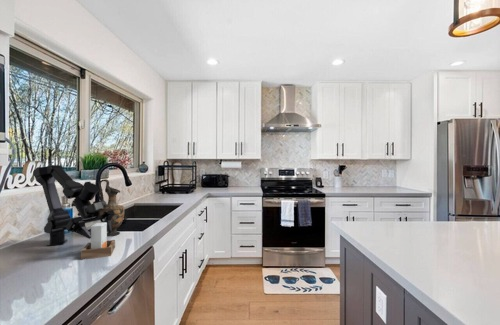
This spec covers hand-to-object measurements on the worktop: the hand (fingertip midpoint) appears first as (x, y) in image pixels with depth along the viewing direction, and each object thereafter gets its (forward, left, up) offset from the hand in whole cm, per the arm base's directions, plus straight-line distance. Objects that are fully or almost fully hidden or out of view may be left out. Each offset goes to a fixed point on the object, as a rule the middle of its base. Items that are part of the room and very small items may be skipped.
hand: (101, 235), depth 104 cm
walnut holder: (-1, -1, -8) cm, 8 cm away
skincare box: (-1, -1, -8) cm, 8 cm away
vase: (-29, -1, -8) cm, 31 cm away
